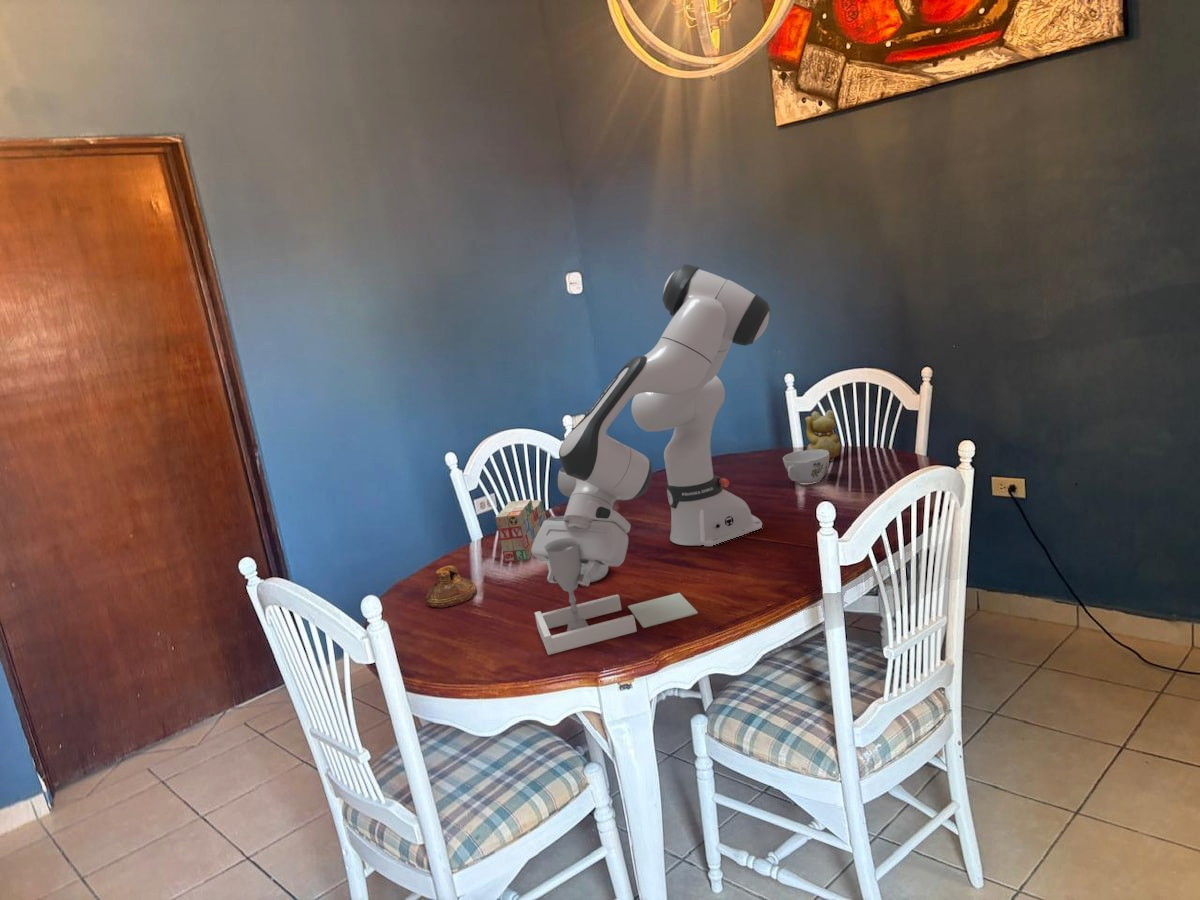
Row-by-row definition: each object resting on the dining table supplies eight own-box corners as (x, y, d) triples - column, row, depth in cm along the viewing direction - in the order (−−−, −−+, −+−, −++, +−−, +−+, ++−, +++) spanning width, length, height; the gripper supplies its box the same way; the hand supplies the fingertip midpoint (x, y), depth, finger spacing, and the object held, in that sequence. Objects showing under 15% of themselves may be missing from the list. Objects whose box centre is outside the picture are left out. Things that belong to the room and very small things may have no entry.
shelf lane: (620, 607, 165) (617, 591, 164) (636, 631, 153) (633, 613, 152) (537, 629, 162) (534, 612, 161) (548, 655, 150) (544, 637, 149)
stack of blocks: (527, 533, 225) (518, 491, 222) (548, 531, 223) (540, 488, 221) (504, 563, 204) (494, 516, 202) (528, 560, 203) (518, 513, 200)
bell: (448, 586, 195) (442, 557, 193) (487, 589, 189) (481, 560, 187) (415, 607, 185) (408, 577, 184) (454, 611, 179) (447, 580, 177)
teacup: (803, 474, 235) (800, 447, 233) (841, 477, 225) (838, 449, 224) (771, 489, 226) (768, 461, 224) (809, 493, 216) (806, 464, 215)
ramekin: (602, 585, 179) (598, 563, 177) (556, 586, 183) (551, 564, 182) (618, 566, 189) (614, 544, 188) (574, 567, 193) (570, 546, 192)
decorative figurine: (839, 454, 248) (834, 406, 245) (844, 461, 240) (839, 411, 237) (807, 459, 249) (801, 411, 246) (811, 466, 241) (805, 416, 238)
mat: (679, 594, 167) (679, 592, 167) (698, 613, 156) (697, 612, 156) (628, 607, 165) (627, 605, 165) (643, 628, 154) (643, 626, 154)
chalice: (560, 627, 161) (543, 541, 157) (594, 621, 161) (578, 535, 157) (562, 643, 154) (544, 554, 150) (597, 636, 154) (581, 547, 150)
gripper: (537, 508, 164) (515, 573, 158) (622, 511, 152) (602, 581, 147) (554, 522, 168) (534, 585, 163) (638, 525, 157) (619, 594, 151)
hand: (567, 583), depth 155 cm, fingers closed on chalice, 6 cm apart
